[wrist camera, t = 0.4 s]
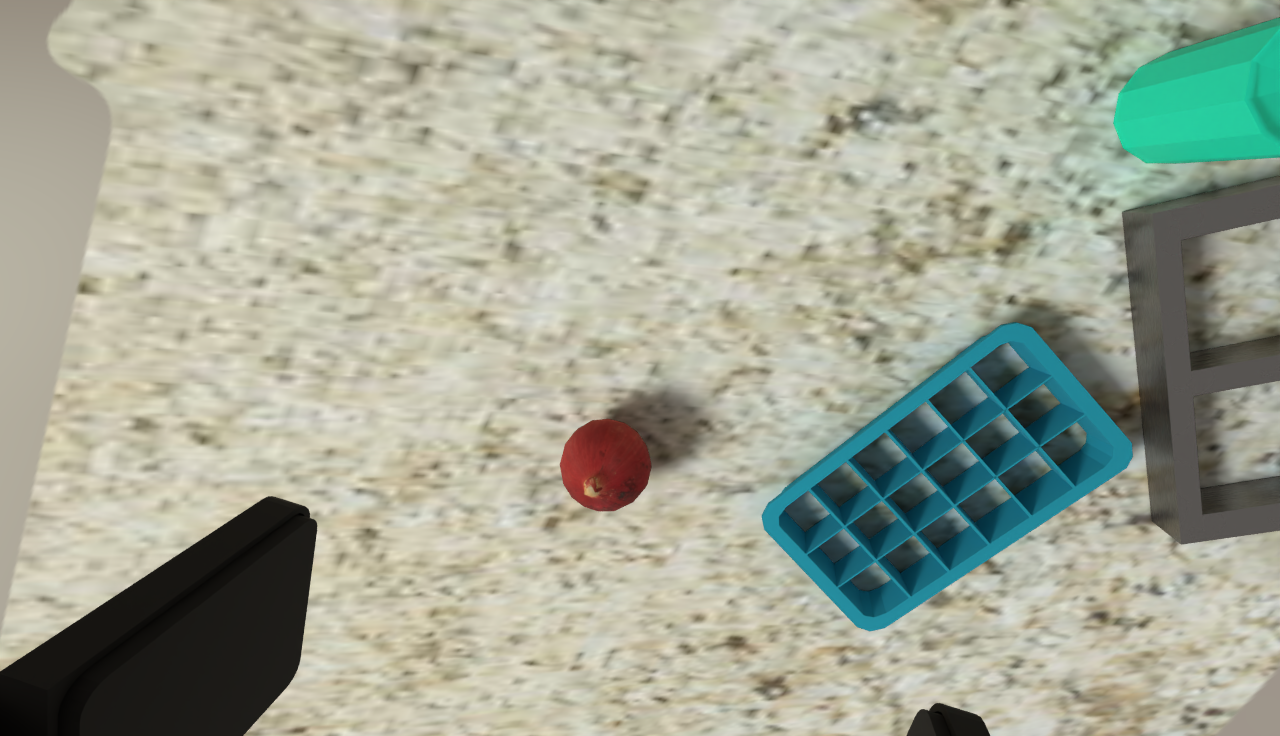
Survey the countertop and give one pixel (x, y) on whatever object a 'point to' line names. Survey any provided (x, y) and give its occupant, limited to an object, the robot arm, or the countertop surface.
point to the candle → (1206, 101)
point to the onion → (605, 465)
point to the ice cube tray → (951, 484)
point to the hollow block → (1193, 364)
